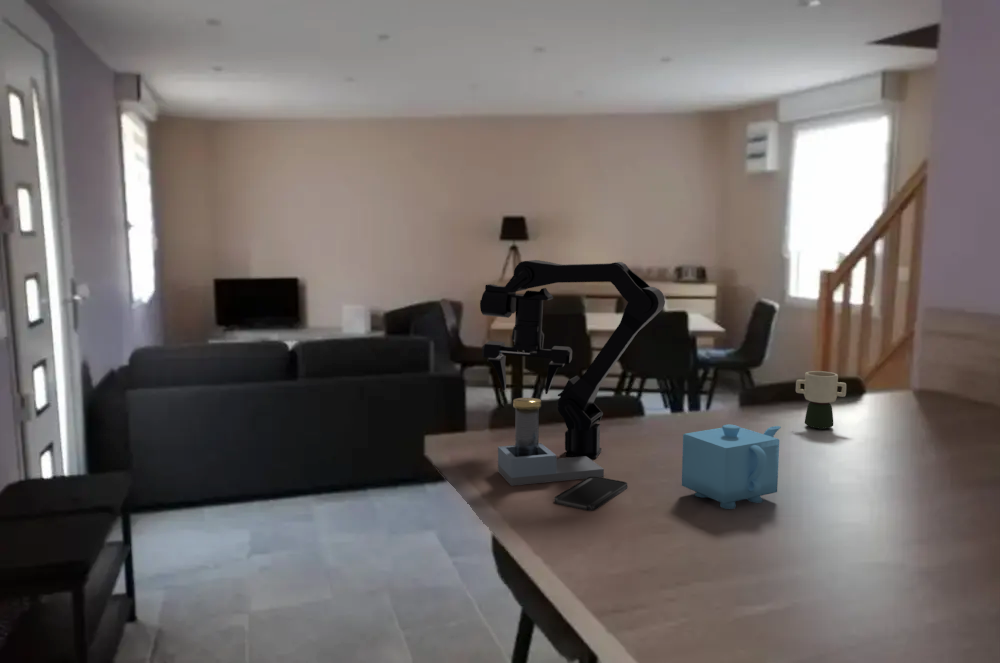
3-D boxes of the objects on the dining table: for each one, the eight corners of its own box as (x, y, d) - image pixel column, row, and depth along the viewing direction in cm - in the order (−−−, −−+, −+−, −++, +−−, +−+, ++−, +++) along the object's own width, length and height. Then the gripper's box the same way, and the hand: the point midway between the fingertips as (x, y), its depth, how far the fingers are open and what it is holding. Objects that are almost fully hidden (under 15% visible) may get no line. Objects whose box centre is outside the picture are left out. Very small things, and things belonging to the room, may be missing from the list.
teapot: (734, 518, 125) (737, 441, 123) (671, 490, 139) (673, 420, 137) (812, 500, 133) (816, 427, 131) (745, 475, 147) (748, 409, 145)
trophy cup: (844, 426, 182) (847, 372, 181) (843, 433, 176) (846, 378, 174) (795, 422, 187) (797, 369, 185) (793, 428, 180) (795, 374, 179)
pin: (537, 463, 149) (537, 397, 148) (543, 471, 144) (543, 402, 143) (511, 465, 149) (511, 398, 147) (515, 473, 143) (516, 403, 142)
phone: (551, 498, 132) (591, 475, 145) (551, 504, 132) (591, 481, 145) (593, 507, 128) (630, 482, 140) (593, 514, 128) (629, 488, 141)
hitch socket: (585, 463, 155) (586, 439, 154) (603, 476, 146) (604, 451, 146) (498, 471, 150) (498, 446, 149) (511, 485, 141) (511, 459, 141)
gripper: (576, 318, 168) (572, 387, 171) (493, 312, 172) (490, 380, 174) (571, 324, 158) (566, 398, 160) (482, 318, 161) (479, 391, 164)
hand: (525, 391), depth 165 cm, fingers open, 9 cm apart
